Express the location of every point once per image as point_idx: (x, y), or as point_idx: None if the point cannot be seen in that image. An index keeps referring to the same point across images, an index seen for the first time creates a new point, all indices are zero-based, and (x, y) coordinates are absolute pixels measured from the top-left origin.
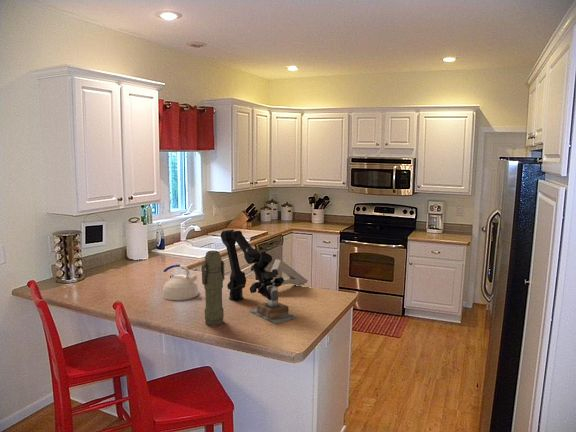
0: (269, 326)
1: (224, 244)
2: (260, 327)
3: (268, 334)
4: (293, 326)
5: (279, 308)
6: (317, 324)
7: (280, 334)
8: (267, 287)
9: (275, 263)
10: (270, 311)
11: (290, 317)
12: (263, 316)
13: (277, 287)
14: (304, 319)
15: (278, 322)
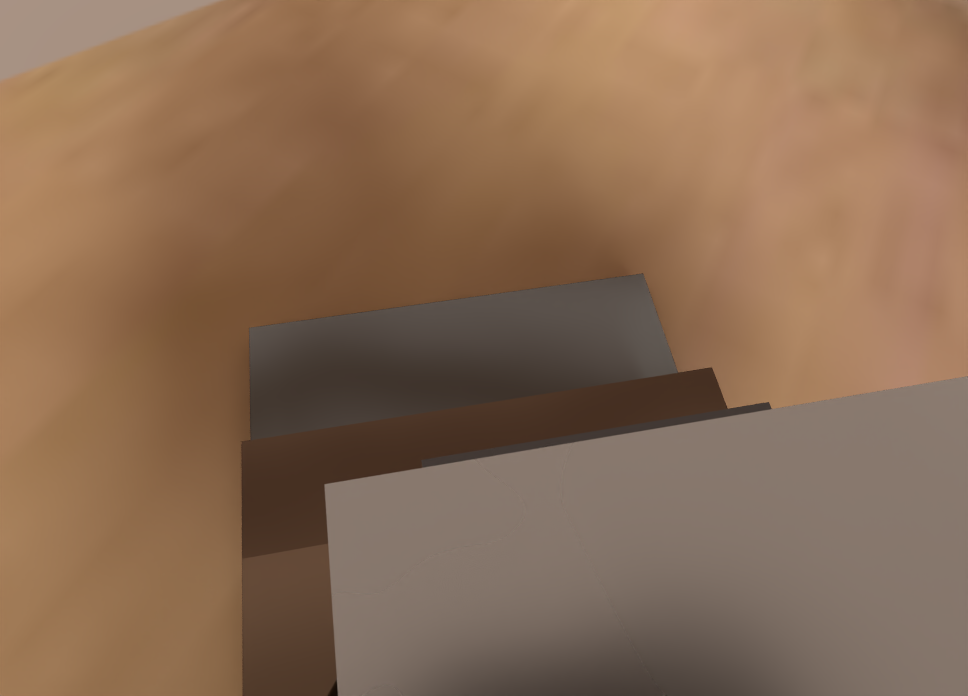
0: (745, 276)
1: None
2: (870, 301)
3: (819, 113)
4: (471, 152)
5: (484, 430)
6: (199, 82)
7: (698, 66)
8: None
9: None
10: (716, 394)
11: (355, 343)
12: None
13: (389, 482)
14: (204, 255)
15: (605, 281)
